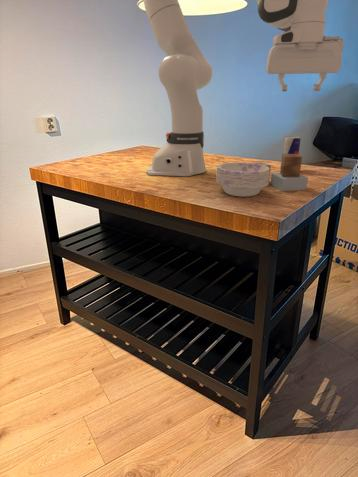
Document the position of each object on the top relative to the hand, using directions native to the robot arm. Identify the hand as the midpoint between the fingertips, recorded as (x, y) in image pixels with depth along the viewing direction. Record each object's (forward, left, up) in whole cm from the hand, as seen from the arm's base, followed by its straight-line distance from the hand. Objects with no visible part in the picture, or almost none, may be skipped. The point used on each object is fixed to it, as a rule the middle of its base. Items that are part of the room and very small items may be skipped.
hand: (300, 91), depth 103 cm
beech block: (-9, +3, -28) cm, 29 cm away
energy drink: (+5, +20, -28) cm, 35 cm away
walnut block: (-1, -3, -24) cm, 24 cm away
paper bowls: (-16, -10, -28) cm, 34 cm away
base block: (-1, -3, -28) cm, 28 cm away
